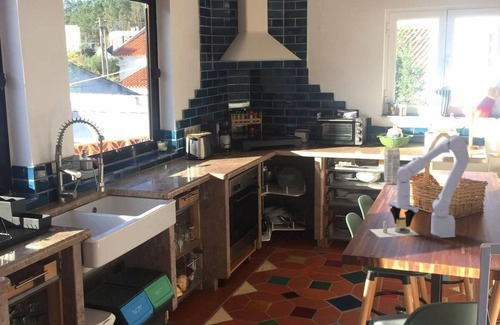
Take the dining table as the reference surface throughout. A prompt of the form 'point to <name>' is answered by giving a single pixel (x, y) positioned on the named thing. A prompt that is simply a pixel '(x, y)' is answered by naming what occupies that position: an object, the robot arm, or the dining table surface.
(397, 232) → the assembly board
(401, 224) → the brass collar
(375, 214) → the dining table surface
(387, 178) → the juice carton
